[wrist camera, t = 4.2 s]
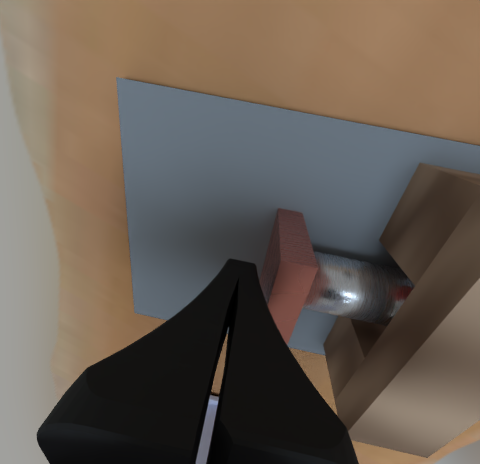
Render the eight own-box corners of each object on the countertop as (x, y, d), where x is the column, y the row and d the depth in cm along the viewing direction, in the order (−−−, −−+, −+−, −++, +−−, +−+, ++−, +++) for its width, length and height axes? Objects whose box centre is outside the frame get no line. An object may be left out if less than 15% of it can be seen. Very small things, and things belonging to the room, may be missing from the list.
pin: (256, 292, 14) (249, 364, 10) (278, 207, 11) (281, 260, 7) (375, 317, 14) (416, 401, 10) (426, 237, 11) (510, 307, 7)
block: (383, 358, 15) (427, 457, 11) (323, 344, 16) (342, 438, 11) (517, 181, 10) (724, 244, 5) (419, 162, 10) (539, 208, 5)
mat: (416, 368, 16) (421, 376, 16) (138, 306, 17) (134, 312, 16) (597, 168, 10) (616, 171, 9) (124, 78, 10) (116, 77, 10)
